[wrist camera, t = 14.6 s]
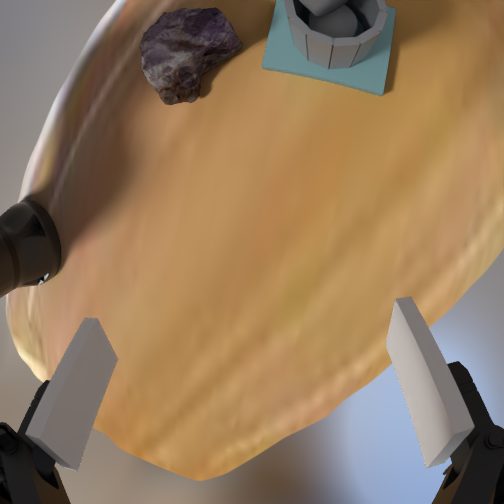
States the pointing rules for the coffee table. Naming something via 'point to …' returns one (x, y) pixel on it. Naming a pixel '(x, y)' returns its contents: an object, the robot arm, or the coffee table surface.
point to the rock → (185, 51)
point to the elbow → (335, 49)
